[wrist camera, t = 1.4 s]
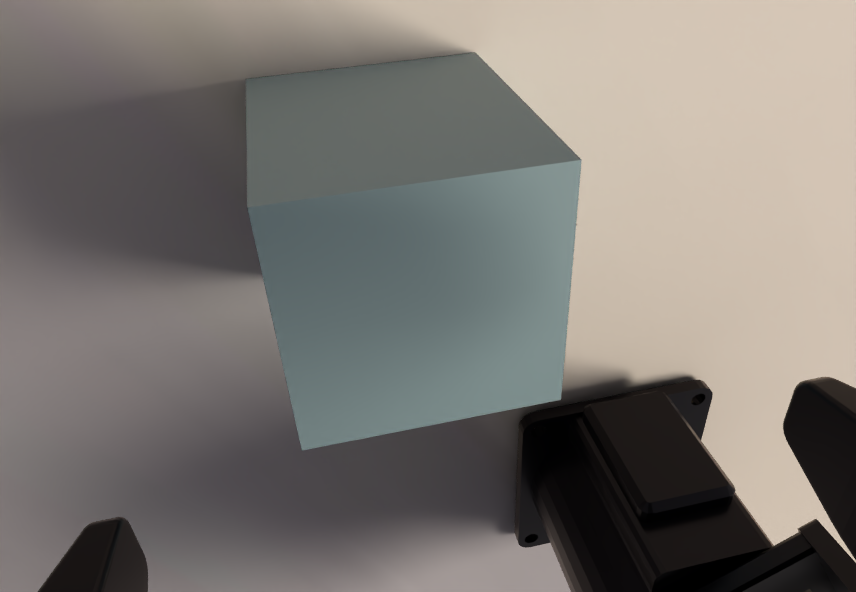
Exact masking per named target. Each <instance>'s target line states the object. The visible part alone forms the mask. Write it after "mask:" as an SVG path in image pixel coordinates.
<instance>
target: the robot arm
mask: <svg viewBox="0 0 856 592" xmlns="http://www.w3.org/2000/svg"><path fill="white" fill-rule="evenodd" d="M711 400H712V391H711V390H710V389H709V387H708V386H707V385H706V384H705V383H704V381H701V380H693V381H688V382H683V383H677V384H672V385H667V386H662V387H657V388H652V389H647V390H642V391H637V392H632V393H626V394H621V395H616V396H611V397H606V398H601V399H596V400H591V401H586V402H581V403H575V404H570V405H565V406H560V407H555V408H550V409H545V410H540V411H535V412H532V413H529V414H527V415H526V416H524V417H523V418H522V420H521V421H520V423H519V433H518V459H517V485H516V511H515V535H516V538H517V540H518V543H519V545H520V546H522V547H533V546H537V545H542V544H546V543H551V545H552V547H553V550H554V552H555V554H556V557H557V559H558V562H559V564H560V566H561V569H562V571H563V573H564V576H565V578H566V581H567V583H568V585H569V588H570V590H571V592H856V563H855V561H854V560H853V559H852V558H851V557H850V556H849V555H848V554H847V553H846V551H845V550H844V549H843V548H842V547H841V546H840V545H839V544H838V543H837V541H836V540H835V539H834V538H833V537H832V536H831V535H830V534H829V533H828V531H827V530H826V529H825V528H824V527H823V526H822V525H821V524H820V522H819V521H818V520H817V519H814V520H813V521H811V522H809V523H807V524H805V525H803V526H802V527H800V528H798V531H799V533H797V534H795V535H793V536H791V537H789V538H788V539H786V540H784V541H782V542H780V543H778V544H777V545H775V546H774V545H773V544H772V543H771V541H770V540H769V538H768V537H767V536H766V534H765V533H764V532H763V530H762V529H761V527H760V526H759V525H758V523H757V522H756V521H755V519H754V518H753V516H752V515H751V514H750V512H749V511H748V510H747V508H746V507H745V505H744V504H743V503H742V501H741V500H740V499H739V497H738V496H737V494H736V493H735V488H734V485H733V484H732V483H731V481H730V480H729V478H728V477H727V476H726V474H725V473H724V472H723V470H722V469H721V468H720V466H719V465H718V463H717V462H716V461H715V459H714V458H713V457H712V455H711V454H710V452H709V451H708V450H707V448H706V447H705V446H704V444H703V443H702V442H701V438H702V435H703V431H704V427H705V423H706V419H707V415H708V411H709V407H710V404H711ZM537 426H538V427H537ZM534 427H536V428H534ZM783 429H784V434H785V437H786V440H787V442H788V444H789V446H790V448H791V449H792V451H793V453H794V455H795V457H796V458H797V460H798V462H799V464H800V466H801V467H802V469H803V471H804V473H805V475H806V476H807V478H808V480H809V482H810V484H811V486H812V487H813V489H814V491H815V493H816V495H817V496H818V498H819V500H820V502H821V504H822V505H823V507H824V509H825V511H826V513H827V514H828V516H829V518H830V520H831V522H832V523H833V525H834V527H835V528H836V530H837V532H838V533H839V535H840V537H841V538H842V540H843V541H844V543H845V544H846V546H847V547H848V549H849V551H850V552H851V554H852V555H853V556H854V558H855V559H856V388H854V387H852V386H849V385H847V384H845V383H843V382H841V381H838V380H836V379H834V378H830V377H820V378H815V379H810V380H805V381H802V382H800V383H799V384H798V385H797V386H796V388H795V390H794V393H793V396H792V399H791V402H790V404H789V407H788V410H787V413H786V416H785V419H784V423H783ZM38 592H148V569H147V562H146V558H145V555H144V553H143V551H142V549H141V547H140V545H139V542H138V540H137V538H136V536H135V534H134V532H133V530H132V528H131V526H130V524H129V522H128V521H127V520H126V519H125V518H123V517H116V518H111V519H106V520H101V521H96V522H92V523H90V524H89V525H87V526H86V527H85V528H84V529H83V531H82V532H81V533H80V535H79V536H78V537H77V539H76V540H75V542H74V543H73V544H72V546H71V547H70V548H69V550H68V551H67V552H66V554H65V555H64V557H63V558H62V559H61V561H60V562H59V563H58V565H57V566H56V567H55V569H54V570H53V572H52V573H51V574H50V576H49V577H48V578H47V580H46V581H45V582H44V584H43V585H42V587H41V588H40V589H39V591H38Z"/></svg>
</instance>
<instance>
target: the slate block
mask: <svg viewBox="0 0 856 592" xmlns="http://www.w3.org/2000/svg"><path fill="white" fill-rule="evenodd" d="M246 147H247V209H248V213H249V218H250V222H251V227H252V231H253V235H254V240H255V244H256V249H257V253H258V258H259V262H260V267H261V271H262V275H263V280H264V284H265V289H266V293H267V298H268V302H269V307H270V311H271V315H272V320H273V324H274V329H275V333H276V338H277V342H278V347H279V351H280V355H281V360H282V364H283V369H284V373H285V378H286V382H287V387H288V391H289V395H290V400H291V404H292V409H293V413H294V418H295V422H296V427H297V431H298V436H299V440H300V444H301V449H302V451H303V450H308V449H313V448H318V447H323V446H328V445H333V444H338V443H343V442H349V441H354V440H359V439H364V438H369V437H374V436H379V435H384V434H389V433H394V432H399V431H405V430H410V429H415V428H420V427H425V426H430V425H435V424H440V423H445V422H450V421H456V420H461V419H466V418H471V417H476V416H481V415H486V414H491V413H496V412H501V411H506V410H512V409H517V408H522V407H527V406H532V405H537V404H542V403H547V402H552V401H557V400H561V393H562V382H563V370H564V358H565V347H566V335H567V323H568V312H569V300H570V288H571V277H572V265H573V253H574V241H575V230H576V218H577V206H578V195H579V183H580V171H581V159H580V158H579V157H578V156H577V155H576V154H575V153H574V152H573V151H572V150H571V149H570V148H569V147H568V146H567V145H566V144H565V143H564V142H563V141H562V140H561V139H560V138H559V137H558V136H557V135H556V134H555V133H554V132H553V130H552V129H551V128H550V127H549V126H548V125H547V124H546V123H545V122H544V121H543V120H542V119H541V118H540V117H539V116H538V115H537V114H536V113H535V112H534V111H533V110H532V109H531V108H530V107H529V106H528V105H527V104H526V103H525V102H524V101H523V100H522V99H521V98H520V97H519V96H518V95H517V94H516V93H515V92H514V91H513V90H512V89H511V88H510V87H509V86H508V85H507V84H506V83H505V82H504V81H503V80H502V79H501V78H500V77H499V76H498V75H497V74H496V73H495V72H494V71H493V70H492V69H491V68H490V67H489V66H488V65H487V64H486V63H485V62H484V61H483V60H482V59H481V58H480V57H479V56H478V55H477V54H476V53H468V54H459V55H450V56H441V57H433V58H424V59H415V60H407V61H398V62H389V63H380V64H372V65H363V66H354V67H346V68H337V69H328V70H319V71H311V72H302V73H293V74H285V75H276V76H267V77H258V78H250V79H246Z"/></svg>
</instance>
